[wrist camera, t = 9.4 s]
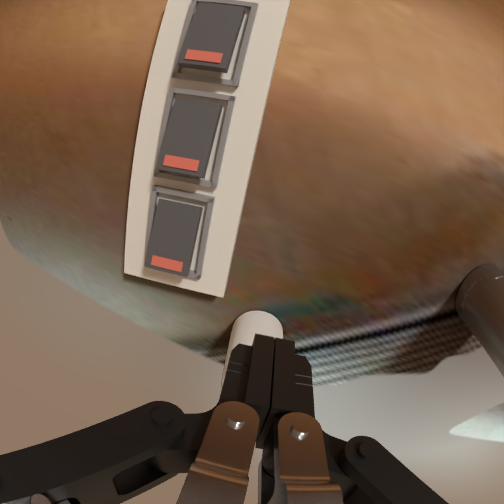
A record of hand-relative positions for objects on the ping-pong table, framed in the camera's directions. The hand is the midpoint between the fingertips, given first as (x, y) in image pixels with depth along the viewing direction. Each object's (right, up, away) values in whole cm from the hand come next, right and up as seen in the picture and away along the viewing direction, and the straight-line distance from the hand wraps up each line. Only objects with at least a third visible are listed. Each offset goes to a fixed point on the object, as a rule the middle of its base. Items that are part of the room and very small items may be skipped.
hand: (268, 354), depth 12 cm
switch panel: (-6, +16, +20) cm, 26 cm away
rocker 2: (-6, +14, +16) cm, 22 cm away
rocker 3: (-8, +5, +19) cm, 22 cm away
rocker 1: (-4, +23, +12) cm, 26 cm away
